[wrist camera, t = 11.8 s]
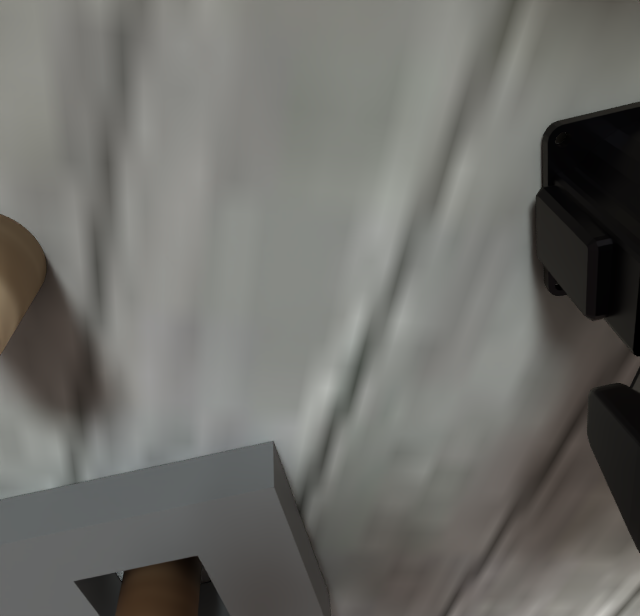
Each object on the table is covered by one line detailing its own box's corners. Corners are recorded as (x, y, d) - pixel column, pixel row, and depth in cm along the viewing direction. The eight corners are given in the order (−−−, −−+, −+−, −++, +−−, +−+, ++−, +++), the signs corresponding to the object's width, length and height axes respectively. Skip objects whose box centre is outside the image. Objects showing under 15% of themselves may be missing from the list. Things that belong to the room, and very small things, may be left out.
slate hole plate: (273, 441, 26) (273, 487, 24) (329, 595, 33) (333, 641, 31) (-34, 506, 27) (-59, 557, 25) (81, 644, 33) (69, 693, 31)
